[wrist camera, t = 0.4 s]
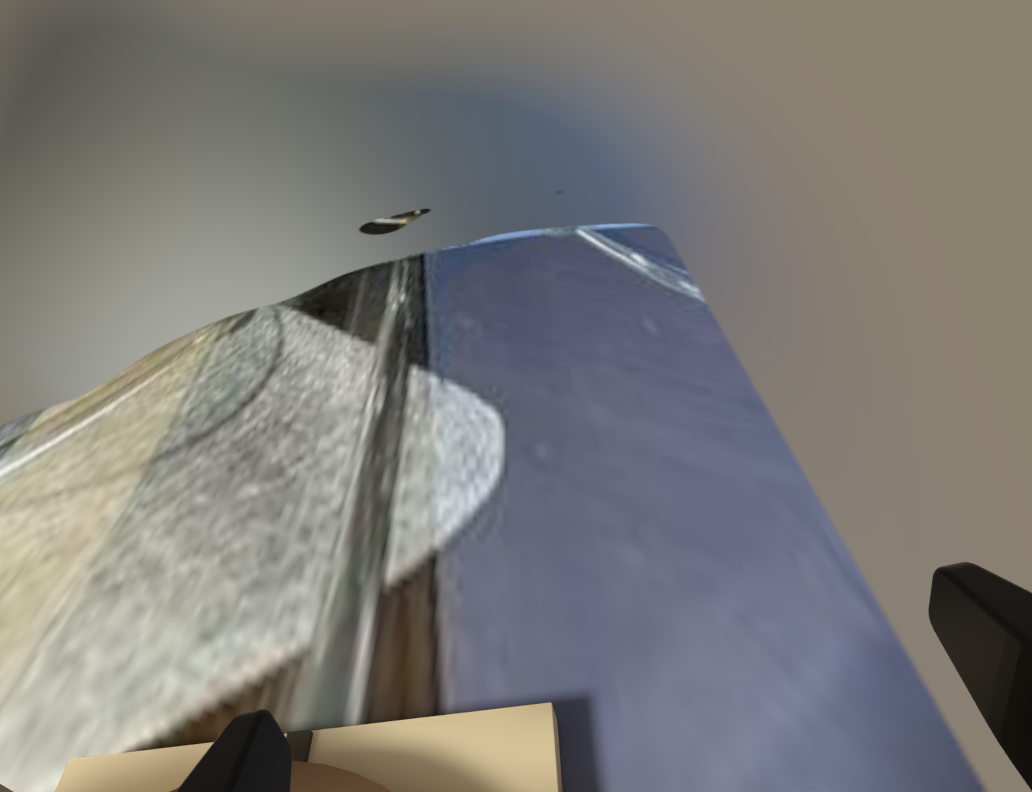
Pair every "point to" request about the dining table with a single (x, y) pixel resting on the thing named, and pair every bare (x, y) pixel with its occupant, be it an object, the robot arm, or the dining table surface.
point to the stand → (375, 755)
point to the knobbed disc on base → (319, 780)
